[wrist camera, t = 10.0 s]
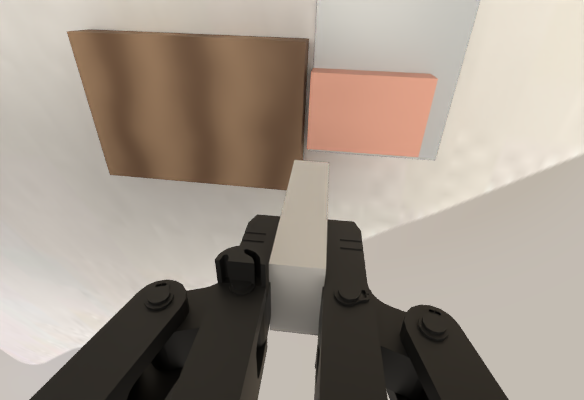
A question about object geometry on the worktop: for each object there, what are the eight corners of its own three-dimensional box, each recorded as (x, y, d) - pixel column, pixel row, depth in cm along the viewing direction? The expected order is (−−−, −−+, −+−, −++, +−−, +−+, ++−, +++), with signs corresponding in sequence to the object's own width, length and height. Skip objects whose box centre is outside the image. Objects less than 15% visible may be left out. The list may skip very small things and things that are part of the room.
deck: (125, 163, 32) (109, 174, 30) (89, 29, 26) (66, 31, 24) (301, 178, 31) (299, 191, 29) (308, 38, 24) (305, 41, 22)
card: (308, 140, 28) (306, 148, 27) (312, 67, 25) (310, 72, 23) (413, 147, 27) (418, 157, 26) (431, 73, 24) (438, 78, 23)
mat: (308, 149, 29) (308, 150, 29) (318, -9, 23) (317, -9, 23) (434, 158, 28) (435, 160, 28) (479, -4, 22) (481, -4, 22)
